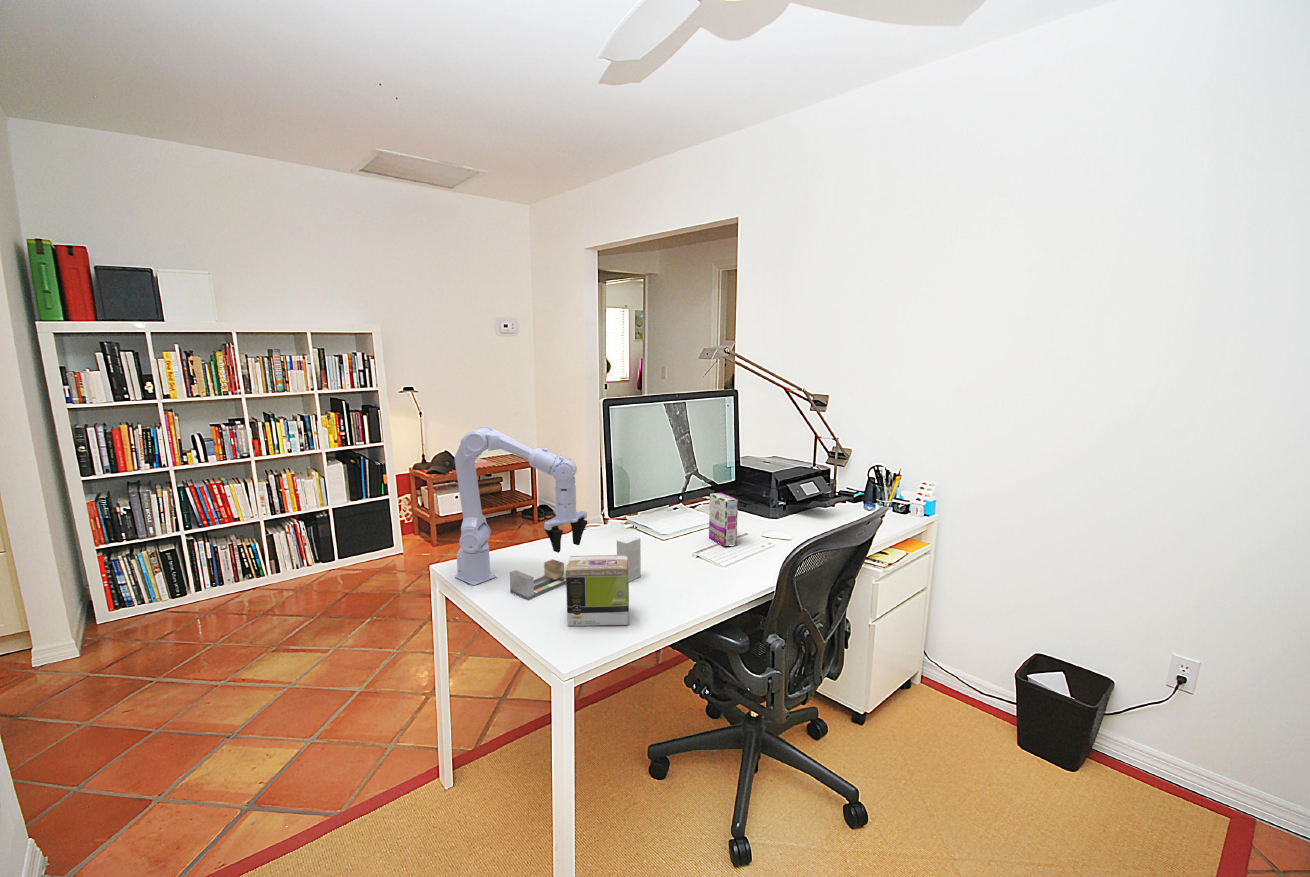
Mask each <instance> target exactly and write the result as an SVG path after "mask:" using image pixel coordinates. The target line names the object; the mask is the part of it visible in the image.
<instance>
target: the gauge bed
mask: <svg viewBox="0 0 1310 877" xmlns="http://www.w3.org/2000/svg"><path fill="white" fill-rule="evenodd" d="M561 578H564V581H561V580H558V579H552V578H549V577H547V576H545V575H543V576H540V577H537V578H536V579H534V576H532V575H529V574H527V573H524V572H522V571H519V570H516V569H515V570H512V571H510V572H509V592H510V593H511V594H513V593H514V594H513V595H515V594H516V596H519V597H520V598H522V599H525V600H527V601H529V600H532V599H533V598H537V597H538V596H541V595H543V594H546V593H548V592H550V591H552V590H556V589H557V588H560V587H561V586H564V585H566V577H564V576H562V577H561Z"/></svg>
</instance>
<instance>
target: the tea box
mask: <svg viewBox="0 0 1310 877" xmlns="http://www.w3.org/2000/svg"><path fill="white" fill-rule="evenodd" d="M565 578H566V584H565V587H566V588H565V589H566V592H565V594H566V614H567V615H566V617H567V626H568V627H572V626H573V627H577V626H580V627H582V626H583V627H584V626H585V627H586V626H629V625H630V624H629V621H630V618H629V614H630V613H629V612H630V592H629V591H630V588H629V587H630V585H629V584H630V583H629V576H628V555H617V554H602V555H600V554H599V555H597V554H596V555H570V556H569V558H568V563H567V566H566V569H565Z"/></svg>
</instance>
